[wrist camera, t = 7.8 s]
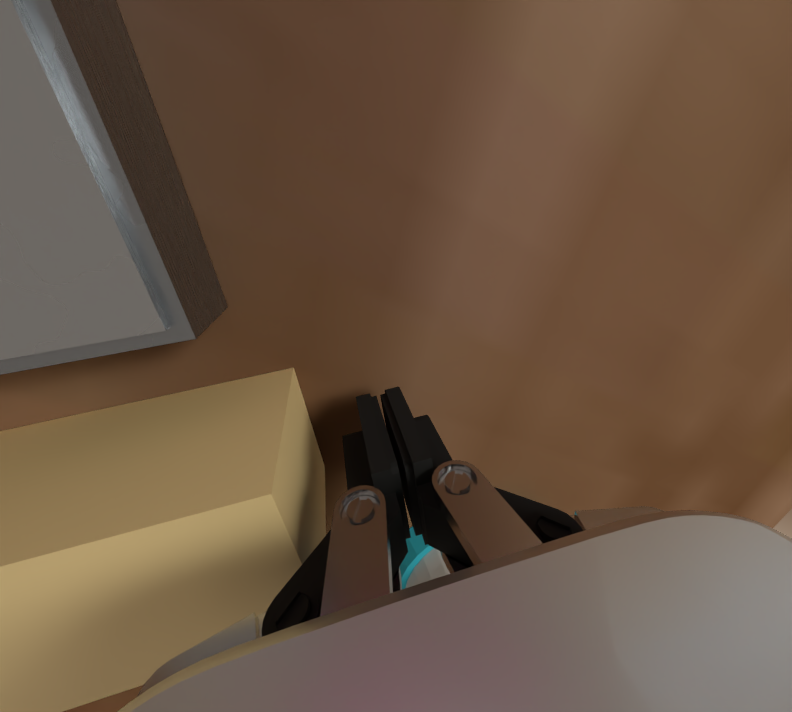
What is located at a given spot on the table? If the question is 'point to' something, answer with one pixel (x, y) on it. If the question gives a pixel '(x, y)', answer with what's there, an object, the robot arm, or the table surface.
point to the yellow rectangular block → (148, 533)
